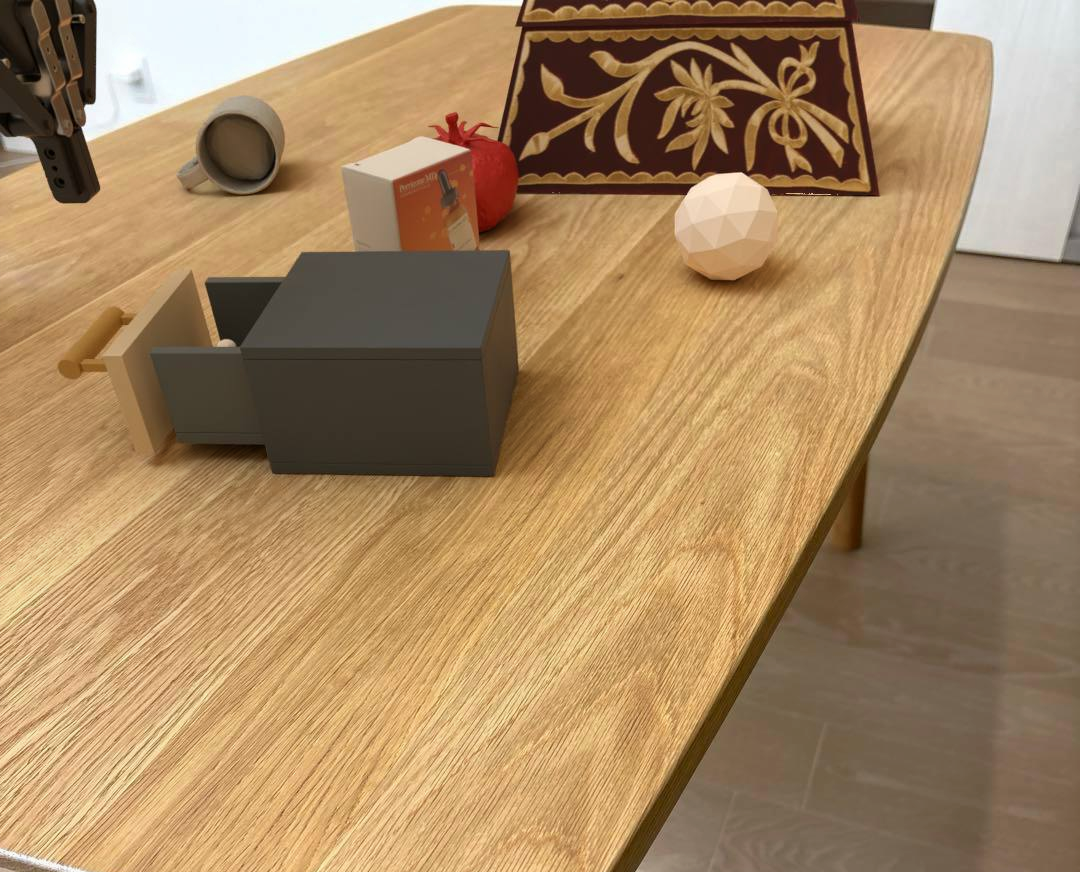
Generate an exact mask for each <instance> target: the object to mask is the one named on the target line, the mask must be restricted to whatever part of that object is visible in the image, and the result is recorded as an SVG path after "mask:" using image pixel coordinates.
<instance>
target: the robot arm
mask: <svg viewBox="0 0 1080 872" xmlns="http://www.w3.org/2000/svg"><path fill="white" fill-rule="evenodd" d="M97 28H98V9H97V4H96V2H95V0H0V134H1V135H2V136H4V137H5V138H18V137H21V138H22V137H24V138H25V139H30V140H31V142H32V143H33V145H34V147H35V150H36V152H37V156H38V159H39V161H40V165H41V167H42V171H44V176H45V178H46V181H47V184H48V187H49V190H50V191H51V194H52V197H53V199H54V200H55V201H56V202H58V203H60V204H62V205H63V204H64V205H65V204H66V205H67V204H87V203H88V202H89V201H90V200H92V199H93V198H94V197H95V196H96V195H97V194H99V193H100V191H101V184H100V180H99V178H98V175H97V171H96V169H95V164H94V162H93V159H92V156H91V153H90V150H89V147H88V142H87V139H86V137H85V133H84V129H83V127H85V126H86V123H87V115H86V110H85V107H86V106H87V105H88V106H89V105H90V106H91V105H95V103H96V99H97V43H98V42H97V40H98V39H97V36H98V35H97V33H98V32H97V31H98V29H97Z"/></svg>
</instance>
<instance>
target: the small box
mask: <svg viewBox="0 0 1080 872" xmlns="http://www.w3.org/2000/svg"><path fill="white" fill-rule="evenodd" d="M431 138H432V137H427V136H423V135H419V136H417V137H415V138H413V139H412V140H410V141H408V142H405V143H402V144H400V145H397V146H394V147H392V148H389V149H387V150H384V151H382V152H378V153H376V154H373V155H371V156H368V157H365V158H362V159H360V160H357V161H355V162H350V163H349V162H348V163H347V164H343V165H341V168H340V169H341V175H342V181H343V186H344V193H345V200H346V206H347V211H348V217H349V225H350V230H351V236H352V241H353V247H354V252H361V251H471V250H481V246H480V245H481V244H480V234H479V233H480V232H478V221H477V210H476V198H475V187H474V177H473V164H472V153H471V150H470V149H467V148H464V147H460V146H457V145H453V144H449V143H446V142H442V141H438V140H435V139H431Z"/></svg>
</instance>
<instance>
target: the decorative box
mask: <svg viewBox="0 0 1080 872" xmlns="http://www.w3.org/2000/svg"><path fill="white" fill-rule="evenodd" d="M853 22H860V17H859V13H858V10H857V5H856V1H855V0H522V2H521V6H520V9H519V13H518V16H517V19H516V23H515V25H514V28H521V30H520V36H519V39H518V45H517V49H516V53H515V57H514V62H513V67H512V72H511V76H510V81H509V86H508V89H507V94H506V99H505V102H504V103H505V104H504V107H503V112H502V117H501V122H500V126H499V131H498V135H497V139H496V141H499V142H502V143H504V144H506V145H507V146H508V147H509V148H510V149H511V151H512V152H513V154H514V156H515V161H516V163H517V169H518V187H517V192H516V194H558V193H559V192H560V193H594V194H593V195H683V194H688V192H689V190H690V189H691V188H692V187H694V186H695V185H697V184H698V183H700V182H702V181H703V180H705V179H706V178H708V177H710V176H713V175H716V174H727V173H743V174H745V175H746V176H748V177H749V178H751V179H752V180H754V181H755V182H757V183H758V184H760V185H761V186H763V187H764V188H766V189H767V190H768V192H769V194H786V193H803V194H804V193H805V194H809V193H810V194H811V193H813V194H831V195H837V194H838V195H875V196H874V197H880V196H881V195H880V189H879V182H878V175H877V169H876V162H875V157H874V150H873V145H872V138H871V133H870V127H869V119H868V113H867V107H866V99H865V95H864V88H863V83H862V76H861V69H860V63H859V57H858V51H857V45H856V38H855V33H854V26H853ZM552 192H554V193H552Z"/></svg>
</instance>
